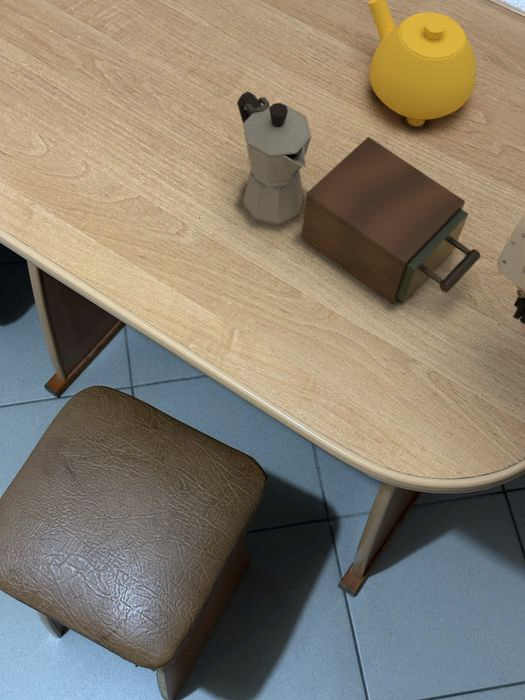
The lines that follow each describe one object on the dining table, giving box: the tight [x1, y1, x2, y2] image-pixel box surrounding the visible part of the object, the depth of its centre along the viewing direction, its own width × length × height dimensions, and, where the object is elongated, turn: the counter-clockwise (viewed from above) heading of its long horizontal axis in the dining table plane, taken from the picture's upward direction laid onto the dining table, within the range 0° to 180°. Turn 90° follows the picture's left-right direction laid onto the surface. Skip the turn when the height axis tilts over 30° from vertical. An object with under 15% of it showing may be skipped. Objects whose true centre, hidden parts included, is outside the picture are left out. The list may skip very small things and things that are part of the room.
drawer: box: [396, 209, 482, 303], centre depth 110 cm, size 19×12×8 cm, turn 49°
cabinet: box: [301, 136, 466, 305], centre depth 111 cm, size 16×13×10 cm
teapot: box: [367, 0, 477, 127], centre depth 123 cm, size 20×16×14 cm
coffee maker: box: [236, 91, 312, 227], centre depth 111 cm, size 15×9×18 cm, turn 33°
